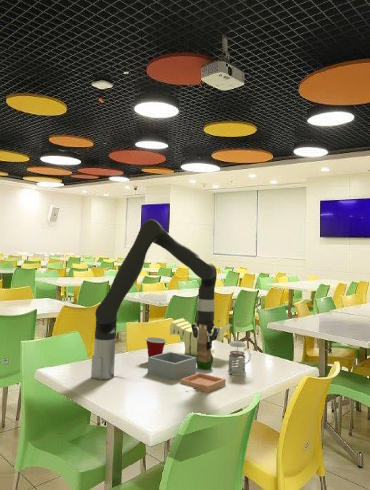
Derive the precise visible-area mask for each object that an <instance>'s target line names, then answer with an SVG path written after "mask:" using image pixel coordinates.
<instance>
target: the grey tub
mask: <svg viewBox="0 0 370 490" xmlns="http://www.w3.org/2000/svg"><path fill="white" fill-rule="evenodd" d="M196 359H197V358H196V356H193V355H188V354H182V353H179V352H174V351H167V352H163V353H162V354H159V355H155V356H152V357H148V359H147V360H148V361H147V374H151V375H154V376H158V377H162V378H165V379H168V380H172V381H176V380H181V379H183V378H186V377H188V376H191V375H194V374H197V363H196Z"/></svg>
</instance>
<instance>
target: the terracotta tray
mask: <svg viewBox="0 0 370 490" xmlns="http://www.w3.org/2000/svg"><path fill="white" fill-rule="evenodd" d="M226 381H227V380H226V378H222V377H219V376H214V375H210V374H207V373H203V372H196V373H194V374H191V375H188V376H185V377H183V378H180V383H181V384H184V385H187V386H190V387H193V390H196V389H197V390H196V391H199V390H201V392H203V391H204V392H203V393H206V392H207V393H211V392H213V391H214V389H215V390H217V389H219V387H220V388H221V386H222V387H224V386H226ZM223 385H224V386H223ZM212 390H213V391H212Z"/></svg>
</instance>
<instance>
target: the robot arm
mask: <svg viewBox="0 0 370 490" xmlns="http://www.w3.org/2000/svg"><path fill="white" fill-rule="evenodd" d="M152 244H156V245H157V246H159V247H161V248H162V249H163V250H166V251H167V252H168V253H170V255H171V256H173V257H174V258H175V259H177V261H179V262H180V263H181V264H183V265H185V267H187V268H189V269H190V271H192V273H193V274H194V275H196V276H197V277H198V278H200V279H201V281H200V286H199V287H198V298H197V305H196V306H197V308H196V309H197V310H196V320H197V321H196V322H195V323H190V324H191V327H192V331H193V335H194V337H195V338H197V340H198V338H199V330H198V329H199V328H200V329H201V325H199V324H205V325H208V327H207V328H206V326H204V329H207V341H208V342H207V350H211V349H213V347H212V346H213V342H214V341H217V336H218V333H219V330H220V326H219V327H217V326H215V324H214V321H215V307H216V306H215V305H216V304H215V295H216V294H215V293H216V292H215V288H216V281H217V276H218V275H217V274H218V271H217V268H216V266H215V265H214V264H212V263H208V262H206V261H204V260H203V259H201V257H200V256H199V254H197V253H196V252H195V251H193V250H192V249H190V248H189V247H188V246H186V245H185V244H183V243H181V242H180V241H178V240H176V239H174V238H173V236H171V235H170V234H169V233H168V232H167V231H166V229H164V228H163V226H162V225H161V224H160V223H159V222H158V221H156V220H155V219H148V220H146V221H144V222H143V223H142V225H141V226H140V228H139V231H138V233H137V235H136V238H135V239H134V242H133V244H132V246H131V247H130V249H129V251H128V253H127V255H126V256H125V258H124V259H123V261H122V263H121V264H120V266H119V268H118V270H117V272H116V274H115V276H114V279H113V281H112V284H111V286H110V287H109V289H108V290H109V291H108V292H107V294H106V296H105V297H104V298H103V300H102V301H101V303H100V304H99V305H97V307H96V309H95V330H94V346H93V355H92V356H91V374H90V377H91V378H94V379H96V380H99V381H102V380H110V379H113V378H114V376H115V359H116V340H117V339H116V336H117V335H116V333H117V321H118V319H117V318H118V312H119V310H120V307H121V305H122V302H123V300H124V299H125V297H126V296H127V294H128V293H129V292H130V291H131V289H132V288H133V286H134V285H135V283H136V281H137V280H138V278H139V276H140V274H142V273H141V272H142V270H143V267H144V264H145V259H146V257H147V253H148V252H149V251H148V250H149V249H150V247H151V246H152ZM197 327H198V329H197ZM212 329H213V334H212ZM210 332H211V333H210ZM209 333H210V334H209ZM197 346H198V341H197Z"/></svg>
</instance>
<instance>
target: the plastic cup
mask: <svg viewBox="0 0 370 490" xmlns="http://www.w3.org/2000/svg"><path fill="white" fill-rule="evenodd" d="M145 341H146V345H147V346H146V347H147V348H146V349H147V355H148V357H152V356H155V355H159V354H163V353H164V348H165V345H166V343H167V340H166V339H165V338H161V337H153V336H151V337H150V336H149V337H145Z"/></svg>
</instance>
